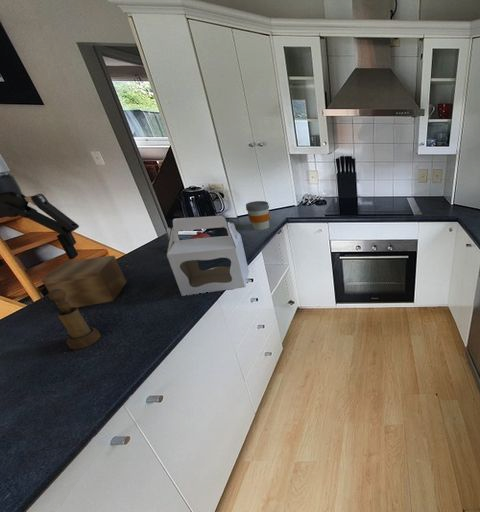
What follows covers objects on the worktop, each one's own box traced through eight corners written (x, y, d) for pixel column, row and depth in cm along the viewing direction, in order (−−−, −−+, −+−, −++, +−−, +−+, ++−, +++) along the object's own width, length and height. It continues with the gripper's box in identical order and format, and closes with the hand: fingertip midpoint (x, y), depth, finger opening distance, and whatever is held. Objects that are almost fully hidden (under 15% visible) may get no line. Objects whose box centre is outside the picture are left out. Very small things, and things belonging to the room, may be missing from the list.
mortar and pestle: (82, 334, 83) (51, 284, 75) (106, 332, 84) (79, 282, 76) (63, 351, 77) (27, 298, 69) (90, 348, 78) (58, 296, 70)
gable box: (249, 271, 119) (235, 209, 106) (246, 287, 108) (230, 220, 95) (191, 278, 112) (168, 213, 100) (180, 296, 101) (154, 225, 89)
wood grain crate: (60, 310, 92) (41, 280, 87) (80, 289, 104) (64, 262, 98) (113, 301, 98) (99, 272, 93) (126, 282, 109) (114, 255, 104)
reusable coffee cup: (255, 232, 159) (250, 208, 153) (246, 227, 167) (241, 203, 160) (276, 227, 168) (272, 203, 161) (266, 222, 175) (262, 199, 168)
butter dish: (188, 246, 141) (183, 230, 137) (213, 240, 148) (208, 226, 144) (192, 253, 133) (187, 237, 129) (218, 247, 140) (214, 232, 136)
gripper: (-130, 182, 51) (-52, 279, 60) (53, 174, 61) (96, 259, 70) (-91, 175, 57) (-25, 264, 66) (70, 169, 67) (107, 248, 76)
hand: (37, 261), depth 68 cm, fingers open, 13 cm apart
